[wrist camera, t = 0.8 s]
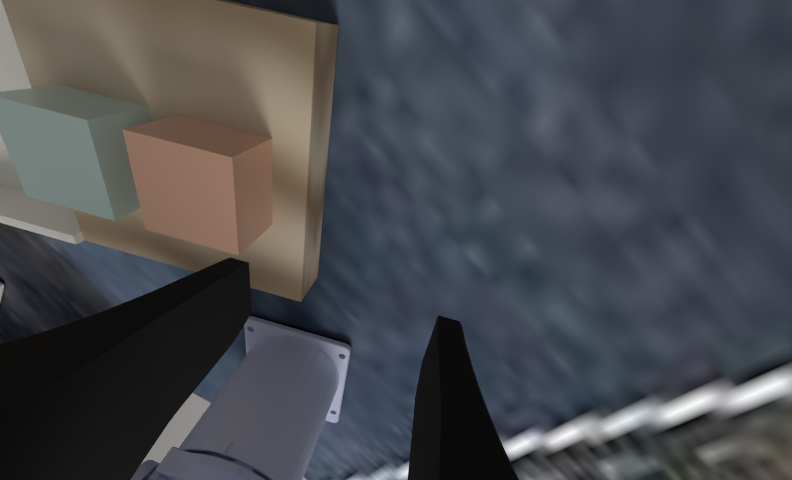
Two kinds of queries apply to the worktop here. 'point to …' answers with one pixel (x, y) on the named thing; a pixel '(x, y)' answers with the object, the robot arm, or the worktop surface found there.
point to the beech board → (203, 106)
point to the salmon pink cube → (202, 181)
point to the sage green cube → (72, 147)
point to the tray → (3, 189)
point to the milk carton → (1, 289)
